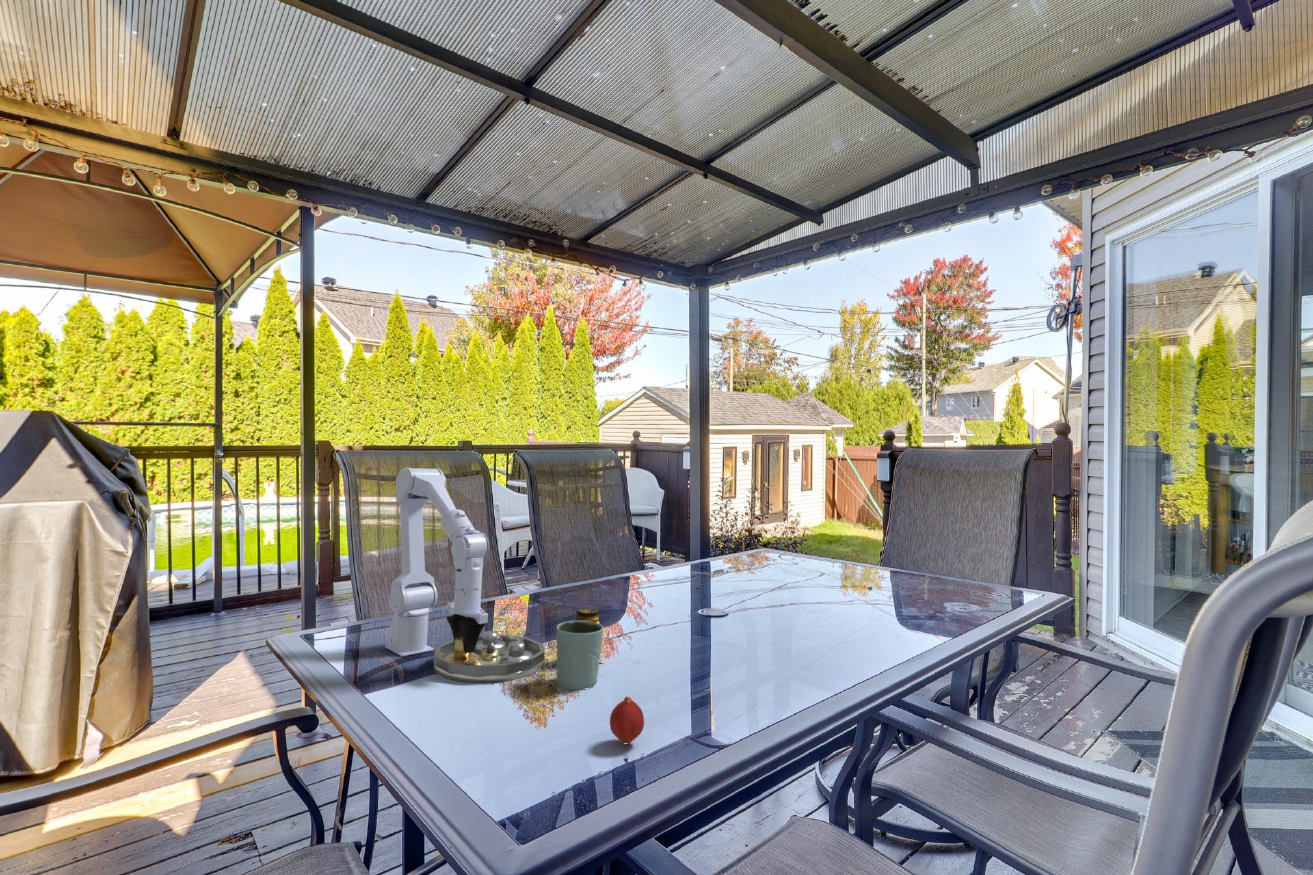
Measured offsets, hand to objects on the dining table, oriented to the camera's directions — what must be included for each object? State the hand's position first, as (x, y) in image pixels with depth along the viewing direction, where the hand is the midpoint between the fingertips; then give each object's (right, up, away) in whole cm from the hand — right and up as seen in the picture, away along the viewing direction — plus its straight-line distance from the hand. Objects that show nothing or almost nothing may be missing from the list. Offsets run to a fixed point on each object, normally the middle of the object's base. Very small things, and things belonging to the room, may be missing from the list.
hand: (464, 650), depth 138 cm
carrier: (+4, -5, +4) cm, 8 cm away
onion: (+37, -5, -33) cm, 50 cm away
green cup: (+26, -6, -5) cm, 27 cm away
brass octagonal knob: (-1, -3, -1) cm, 3 cm away
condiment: (+25, -6, +10) cm, 27 cm away
